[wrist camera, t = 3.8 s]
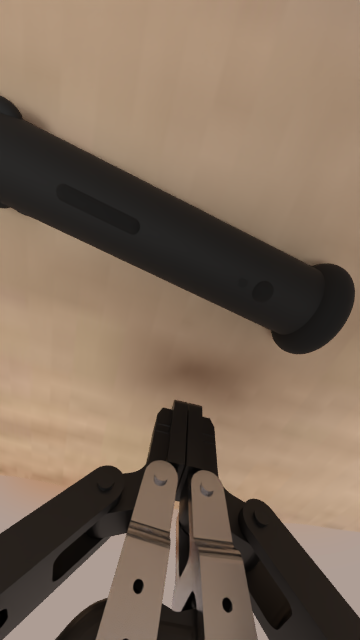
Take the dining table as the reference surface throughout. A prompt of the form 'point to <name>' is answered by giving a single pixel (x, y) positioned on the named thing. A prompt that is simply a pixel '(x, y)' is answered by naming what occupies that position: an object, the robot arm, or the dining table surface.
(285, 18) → the dining table surface
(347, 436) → the dining table surface
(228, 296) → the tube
